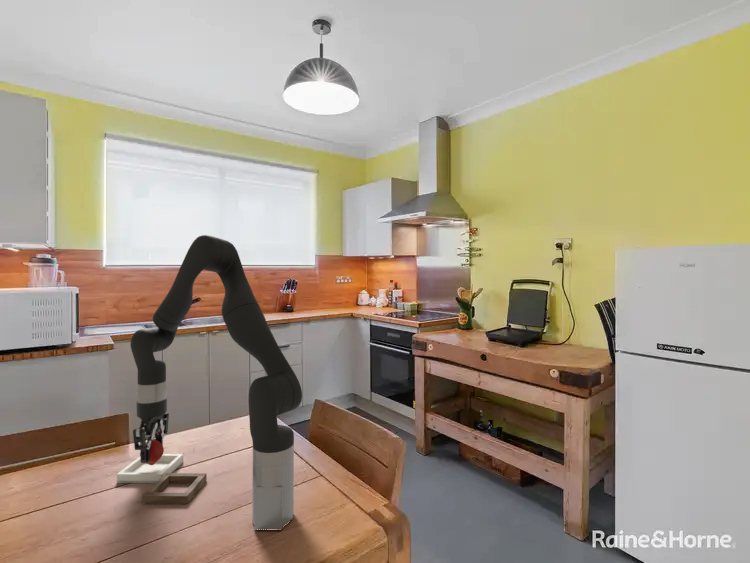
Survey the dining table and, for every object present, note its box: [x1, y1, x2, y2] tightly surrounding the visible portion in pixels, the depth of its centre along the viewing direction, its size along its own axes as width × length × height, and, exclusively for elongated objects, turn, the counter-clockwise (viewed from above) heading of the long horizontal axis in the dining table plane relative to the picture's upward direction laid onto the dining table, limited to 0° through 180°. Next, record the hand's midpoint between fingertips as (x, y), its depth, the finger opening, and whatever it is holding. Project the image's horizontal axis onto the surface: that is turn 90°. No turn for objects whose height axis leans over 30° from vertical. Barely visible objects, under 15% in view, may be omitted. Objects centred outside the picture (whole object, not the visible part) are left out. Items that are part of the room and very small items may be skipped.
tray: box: [116, 453, 184, 484], centre depth 111 cm, size 12×12×2 cm
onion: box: [139, 438, 165, 465], centre depth 111 cm, size 6×6×8 cm
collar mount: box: [141, 472, 208, 505], centre depth 101 cm, size 11×11×2 cm
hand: (152, 456), depth 111 cm, fingers closed on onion, 6 cm apart
